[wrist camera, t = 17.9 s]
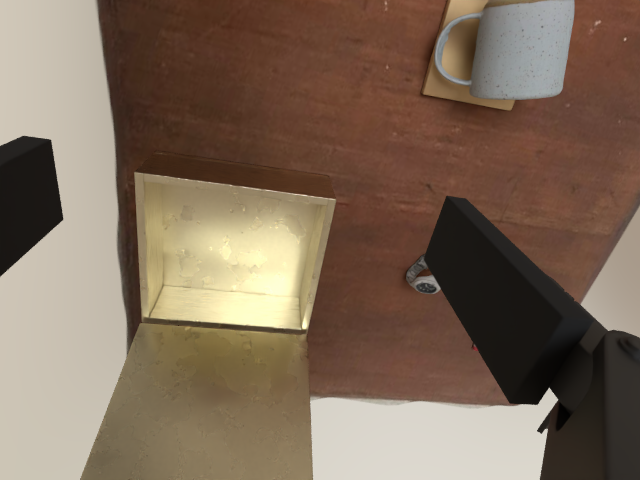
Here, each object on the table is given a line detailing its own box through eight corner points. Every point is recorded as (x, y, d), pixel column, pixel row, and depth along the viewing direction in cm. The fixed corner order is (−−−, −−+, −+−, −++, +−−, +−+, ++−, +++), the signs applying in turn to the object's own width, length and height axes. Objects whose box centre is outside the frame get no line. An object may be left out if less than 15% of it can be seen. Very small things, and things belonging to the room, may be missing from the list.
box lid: (60, 530, 27) (74, 549, 31) (314, 527, 31) (304, 545, 34) (139, 322, 42) (144, 350, 45) (307, 335, 45) (300, 360, 48)
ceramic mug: (546, -9, 35) (606, -16, 29) (530, 86, 39) (579, 98, 33) (432, 3, 35) (466, -2, 28) (428, 96, 39) (456, 112, 33)
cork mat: (453, -22, 35) (457, -23, 34) (550, 2, 37) (555, 1, 36) (420, 93, 40) (422, 94, 39) (507, 109, 41) (511, 111, 41)
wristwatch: (398, 270, 51) (409, 294, 46) (433, 238, 49) (447, 259, 44) (415, 283, 52) (428, 307, 48) (450, 252, 50) (466, 274, 46)
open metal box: (155, 150, 40) (133, 172, 34) (328, 175, 43) (336, 199, 37) (158, 285, 48) (141, 322, 43) (303, 299, 51) (306, 334, 46)
